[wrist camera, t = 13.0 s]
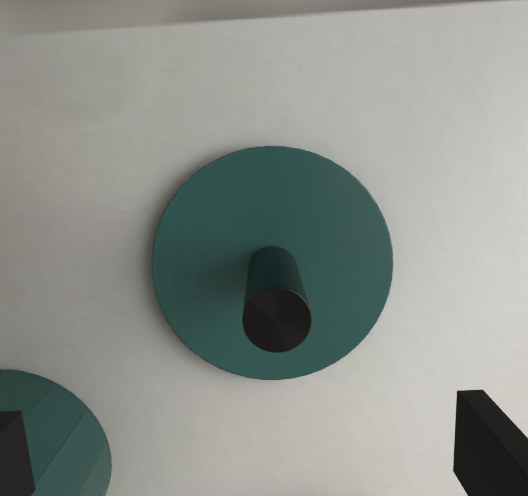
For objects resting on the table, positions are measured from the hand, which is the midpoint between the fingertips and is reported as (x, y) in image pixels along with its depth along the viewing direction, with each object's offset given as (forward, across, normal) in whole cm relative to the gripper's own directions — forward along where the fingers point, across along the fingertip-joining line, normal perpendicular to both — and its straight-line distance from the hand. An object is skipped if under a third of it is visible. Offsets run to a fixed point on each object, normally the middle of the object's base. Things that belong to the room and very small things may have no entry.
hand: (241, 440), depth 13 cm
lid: (+17, +1, +1) cm, 17 cm away
